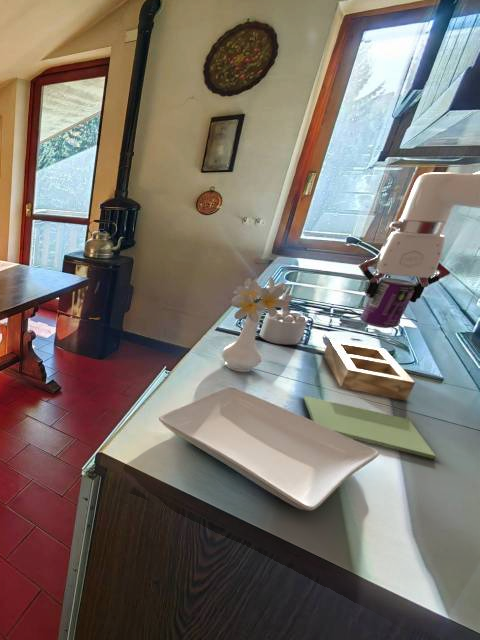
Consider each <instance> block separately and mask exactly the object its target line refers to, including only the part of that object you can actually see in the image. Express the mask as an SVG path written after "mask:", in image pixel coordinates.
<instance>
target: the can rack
mask: <svg viewBox="0 0 480 640" xmlns="http://www.w3.org/2000/svg"><path fill="white" fill-rule="evenodd" d="M323 358H324V360H325V361H326V363H327V364H328V366H329V368H330V371H331V372H332V373H333V375H334V378H335V380H336V381H337V383H338V385H339V387H340V388H343V389H349V390H353V391H358V392H363V393H368V394H373V395H378V396H382V397H386V398H391V399H392V398H393V399H397V400H402V401H407V399H408V398H409V395H410V394H411V392H412V389H413V388H414V386H415V384H416V382H415V381H414V379H413V378H412V377H411V376H410V375H409V374H408V373H407V372H406V371H405V369H404V368H403V367H402V366H401V365H400V364H399V363H398V362H397V361H396V359H395V358H393V356H392V355H391V353H389V351H388V350H386V349H385V348H383V347H382V348H381V347H375V346H369V345H364V344H357V343H351V342H346V341H340V340H333V339H329V340H328V342H327V344H326V347H325V349H324V352H323Z"/></svg>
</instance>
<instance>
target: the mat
mask: <svg viewBox="0 0 480 640" xmlns="http://www.w3.org/2000/svg"><path fill="white" fill-rule="evenodd" d="M303 400H304V402H305V406H306V409H307V412H308V415H309V418H310V420H312V421H314V422H316V423H318V424H320V425H323V426H325V427H327V428H329V429H331V430H333V431H336V432H338V433H340V434H342V435H344V436H346V437H349V438H351V439H353V440H356V441H361V442H366V443H369V444H372V445H377V446H381V447H385V448H387V449H393V450H396V451H401V452H403V453H409V454H411V455H412V454H413V455H415V456H416V455H417V456H420V457H424V458H428V459H433V460H435V459H436V457H437V455H436V454H435V453H434V451H433V450H432V448H431V447H430V446H429V444H428V443H427V442H426V440H425V439H424V437H422V435H421V434H420V433H419V431H418V430H417V429H416V428H415V426H414V424H413V423H412V422H411V420H410V419H409V418H405V417H401V416H397V415H391V414H388V413H382V412H379V411H374V410H370V409H365V408H360V407H357V406H351V405H347V404H342V403H339V402H334V401H329V400H326V399H320V398H315V397H312V396H306V395H305V396H304V397H303Z"/></svg>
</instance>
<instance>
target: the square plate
mask: <svg viewBox="0 0 480 640" xmlns="http://www.w3.org/2000/svg"><path fill="white" fill-rule="evenodd" d="M158 421H159V422H160V423H161V424H162V425H163V426H164V427H165V428H166V429H167V430H169V431H171V432H172V433H173V434H175V435H176V436H178V437H180V438H182V439H183V440H185V441H186V442H188V443H190V444H192V445H193V446H194V447H197V448H198V449H200V450H202V451H203V452H205V454H208V455H209V456H211V457H213V458H214V459H216V460H217V461H219V462H221V463H223V464H224V465H226V466H227V467H229V468H230V469H233V470H234V471H235V472H237V473H238V474H241V476H244V477H245V478H246V479H248V480H250V481H251V482H252V483H254V484H256V485H257V486H259V487H260V488H261V489H264V490H265V491H266V492H269V493H270V494H272V495H274V496H276V497H278V498H279V499H280V500H282V501H284V502H286V503H287V504H289V505H291V506H293V507H294V508H297V509H299V510H303V511H309V512H312V511H314V510H315V509H317V508H318V507H319V506H321V505H322V504H323V503H324V502H325V501H326V500H327V499H328V498H329V497H330V496H331V495H332V494H333V493H334V492H335V491H336V490H337V489H338V487H340V486H341V485H342V484H343V483H344V482H346V480H347V479H349V478H350V477H351V476H352V475H354V474H356V472H358V471H359V470H361V469H362V468H363V467H365V466H367V465H368V464H369V463H371V462H373V461H374V460H375V459H377V457H378V456H379V454H380V452H379V451H378V450H376V449H375V448H372V447H370V446H368V445H367V444H364V443H361V442H359V441H358V440H356V439H353V438H349V437H346V436H344V435H342V434H340V433H338V432H336V431H333V430H331V429H329V428H327V427H325V426H323V425H320V424H318V423H316V422H314V421H312V420H311V419H309V418H307V417H305V416H303V415H300V414H298V413H295V412H294V411H291V410H289V409H287V408H284V407H282V406H280V405H277V404H275V403H273V402H271V401H268V400H266V399H263V398H261V397H259V396H256V395H253V394H252V393H249V392H246V391H244V390H242V389H240V388H237V387H235V386H231V385H228V386H226V387H224V388H220V389H218V390H216V391H213V392H211V393H209V394H207V395H205V396H203V397H201V398H199V399H196V400H193V401H191V402H189V403H186V404H184V405H182V406H180V407H177V408H175V409H173V410H171V411H168V412H167V413H165V414H162V415H161V416H159V417H158Z"/></svg>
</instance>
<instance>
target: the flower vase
mask: <svg viewBox="0 0 480 640" xmlns="http://www.w3.org/2000/svg"><path fill="white" fill-rule="evenodd" d="M257 280H258V278H257V277H256V278H254V279H253V280H252V279H251V278H250V277H247V279H245V281H244V284H243V286H242V285H238V286H236V288H235V289H234V290H233V291H232V294H235V295H234V296H233V298H232V299H230V302H229V303H230V305H231V306H232V307H234V308H237V309H238V310H236V312H235V313H234V319H236V320H241V319H243V318H245V317H246V319H245V321H244V324H243V327H242V330H241V332H240V334H239V335H238V337H237V338H236V339H235V341H234V342H232V343H230V344H227V345H226V346H224V347H223V349H222V351H221V354H220V356H221V358H222V360H223V361H224V365H225V367H226V368H228V369H230V370H232V371H235V372H240V373H249V372H251V371H252V369H255V368H256V367H258V366H260V365H261V364H262V359H263V358H262V354H261V352H260V351H259V349H258V348H257V344H256V335H257V331H258V327H259V324H260V320H261V318H262V316H263V314H264V312H265V311H266V310H267V313H269V315H270V316H271V317H275V316H276V313H277V311H278V310H277V308H280V310H282V311H283V313H284V315H285V311H286V313H287V314H288V315H289V313H290V311H291V310H290V303H291V302H292V301H293V299H294V295H293V294H290V292H291V290H292V285H290V286H288V288H287V289H286V287H287V285H286V283H285V282H278V283H277V284H276V281H275V280H274V278H273V276H269V277H268V285H266V286H265V287H262V286H261V285H259V284H258V282H257ZM284 290H285V292H284Z"/></svg>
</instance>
